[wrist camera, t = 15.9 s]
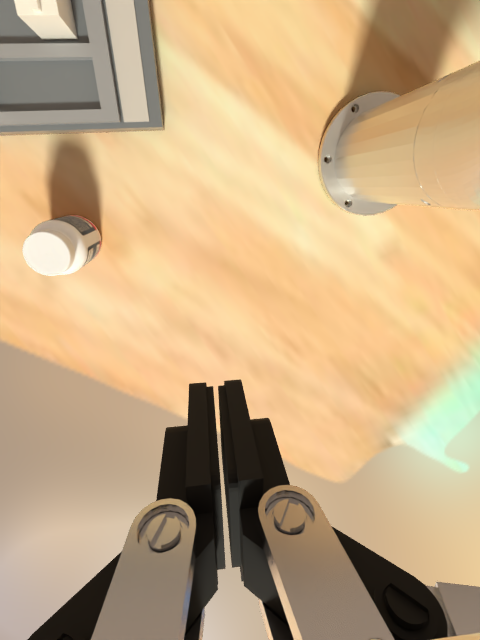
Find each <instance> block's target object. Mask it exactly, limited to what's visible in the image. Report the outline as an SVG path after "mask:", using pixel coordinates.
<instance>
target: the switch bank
mask: <svg viewBox="0 0 480 640" xmlns="http://www.w3.org/2000/svg"><path fill="white" fill-rule="evenodd" d="M71 5H72V10H73V16H74V21H75V27H76V32H77V38H78V39H49V40H42V39H41V38H40V37H39V36H38V35H37V34H36V33H35V32H34V31H33V30H32V29H31V28H30V27H29V26H28V25H27V24H26V23H25V22H24V21H23V20H22V19H21V18H20V17H19V16H18V15H17V11H16V6H15V2H14V0H0V136H4V135H34V134H64V133H95V132H125V131H155V130H164V124H163V116H162V107H161V99H160V90H159V81H158V73H157V64H156V55H155V47H154V38H153V30H152V21H151V12H150V4H149V0H71Z"/></svg>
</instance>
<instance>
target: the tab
mask: <svg viewBox="0 0 480 640" xmlns="http://www.w3.org/2000/svg"><path fill="white" fill-rule="evenodd" d="M14 2H15V6H16V11H17V15H18V16H19V17H20V18H21V19H22V20H23V21H24V22H25V23H26V24H27V25H28V26H29V27H30V28H31V29H32V30H33V31H34V32H35V33H36V34H37V35H38V36H39V37H40V38H41V39H42V40H49V39H78V38H77V32H76V27H75V21H74V16H73V10H72V5H71V0H14Z"/></svg>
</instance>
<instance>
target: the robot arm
mask: <svg viewBox="0 0 480 640" xmlns="http://www.w3.org/2000/svg"><path fill="white" fill-rule="evenodd" d="M351 108H353V112H352V111H351ZM325 157H326V158H327V161H326V162H324V158H325ZM318 168H319V176H320V180H321V183H322V186H323V188H324V190H325V192H326V194H327V196H328V197H329V198H330V199H331V201H332V202H333V203H334V204H335V205H337V206H338V207H339V208H340V209H342V210H344V211H346V212H348V213H352V214H356V215H363V216H367V215H376V214H380V213H384V212H386V211H388V210H390V209H392V208H393V207H395V206H396V205H398V204H399V205H411V206H423V207H435V208H446V209H458V210H480V61H478V62H476V63H473V64H471V65H469V66H467V67H465V68H463V69H461V70H458V71H456V72H454V73H451V74H449V75H447V76H444V77H442V78H440V79H438V80H435V81H433V82H431V83H429V84H426V85H424V86H422V87H420V88H417V89H415V90H413V91H411V92H408V93H406V94H404V95H402V96H401V95H398V94H396V93H393V92H386V91H377V92H370V93H367V94H365V95H362V96H360V97H358V98H356V99H354V100H352V101H351V102H349V103H348V104H347V105H345V106H344V107H343V108H342V109H341V110H340V111H339V112H338V113H337V114H336V115H335V116H334V117H333V119H332V120H331V122H330V124H329V125H328V127H327V129H326V131H325V133H324V136H323V138H322V141H321V145H320V149H319V157H318ZM345 201H347V204H346V205H345ZM218 391H219V410H220V429H221V447H222V462H223V473H224V484H225V495H226V506H227V517H228V528H229V539H230V550H231V561H232V567H240V571H241V579H242V581H244V586H245V587H246V588H248V589H249V590H250V591H251V592H252V593H253V594H255V596H257V597H258V600H259V607H260V611H261V614H262V618H263V621H264V625H265V628H266V632H267V635H268V639H269V640H480V587H476V586H468V585H459V584H450V583H442V582H436V585H435V587H432V586H425V585H424V584H423V583H422V582H420V581H419V580H418V579H416V578H415V577H414V576H412V575H410V574H409V573H407V572H406V571H404V570H402V569H401V568H399V567H397V566H396V565H394V564H392V563H391V562H389V561H388V560H386V559H384V558H383V557H381V556H379V555H378V554H376V553H375V552H373V551H371V550H369V549H368V548H366V547H365V546H363V545H361V544H360V543H358V542H357V541H355V540H353V539H351V538H350V537H348V536H347V535H345V534H343V533H342V532H340V531H338V530H336V529H335V528H334V527H332V526H331V525H330V523H329V521H328V520H327V518H326V516H325V514H324V512H323V511H322V509H321V507H320V505H319V504H318V502H317V501H316V499H315V498H314V497H313V496H312V495H311V494H310V493H308V492H307V491H306V490H304V489H302V488H299V487H297V486H292V485H290V484H289V480H288V477H287V474H286V471H285V467H284V465H283V461H282V458H281V454H280V451H279V448H278V445H277V441H276V438H275V435H274V432H273V429H272V425H271V422H270V420H269V418H263V419H252V420H250V417H249V413H248V408H247V404H246V399H245V395H244V390H243V386H242V382H241V380H230V381H224V386H218ZM218 569H225V552H224V535H223V517H222V500H221V484H220V470H219V458H218V444H217V431H216V418H215V406H214V393H213V386H212V387H206V383H194V384H189V406H188V426H179V427H168V428H166V431H165V438H164V446H163V454H162V462H161V469H160V477H159V485H158V493H157V500H156V502H153V503H151V504H149V505H148V506H147V507H145V508H144V509H142V510H141V512H140V513H139V514H138V515H137V516H136V517H135V519H134V521H133V523H132V525H131V527H130V530H129V533H128V536H127V539H126V542H125V545H124V547H123V550H122V552H121V553H120V554H119V555H117V556H116V557H115V558H114V559H113V560H112V561H111V562H110V563H109V564H108V565H107V566H106V567H105V568H103V569H102V570H101V571H100V572H99V573H98V574H97V575H96V576H95V577H94V578H93V579H92V580H90V582H88V583H87V584H86V585H85V586H84V587H83V588H82V589H81V590H80V591H79V592H78V593H76V594H75V595H74V596H73V597H72V598H71V599H70V600H69V601H68V602H67V603H66V604H65V605H63V606H62V607H61V608H60V609H59V610H58V611H57V612H56V613H55V614H54V615H53V616H52V617H50V619H48V620H47V621H46V622H45V623H44V624H43V625H42V626H41V627H40V628H39V629H38V630H37V631H35V632H34V633H33V634H32V635H31V636H30V638H29V639H28V640H202V637H203V626H204V618H205V606H206V605H207V603H208V602H209V601H210V599H211V598H212V597H213V595H214V594H215V592H216V591H217V590H218V587H217V585H218V577H217V570H218Z"/></svg>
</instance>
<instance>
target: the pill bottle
mask: <svg viewBox="0 0 480 640" xmlns="http://www.w3.org/2000/svg"><path fill="white" fill-rule="evenodd" d="M100 249H101V236H100V233H99V231H98V229H97V228H96V226H95V225H94V224H93V223H92V222H91V221H89V220H88V219H86V218H84V217H82V216H78V215H68V216H63V217H60V218H56V219H52V220H48V221H45V222H42V223H40V224H39V225H37V226H36V227H35V228H34V229H33V230H32V232H31V234H30V236H28V237H27V239H26V240H25V241H24V244H23V255H24V258H25V260H26V262H27V264H28V265H29V266H30V267H31V268H32V269H33V270H35V271H36V272H38V273H40V274H43V275H47V276H55V275H66V274H71V273H73V272H76V271H77V270H79V269H80V268H82V267H83V266H84V265H86V264H87V263H88V262H90V261H91V260H92V259H94V258H95V257H96V256H97V255H98V253H99V251H100Z"/></svg>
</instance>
